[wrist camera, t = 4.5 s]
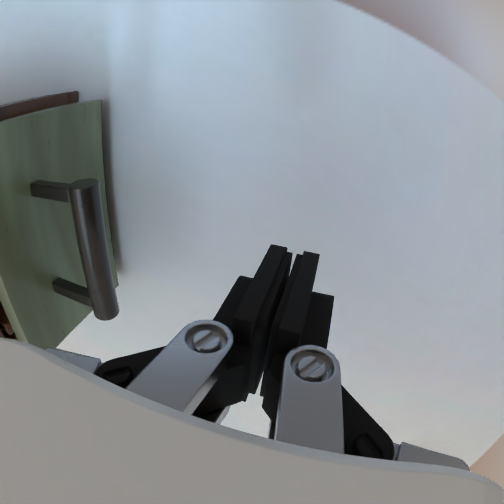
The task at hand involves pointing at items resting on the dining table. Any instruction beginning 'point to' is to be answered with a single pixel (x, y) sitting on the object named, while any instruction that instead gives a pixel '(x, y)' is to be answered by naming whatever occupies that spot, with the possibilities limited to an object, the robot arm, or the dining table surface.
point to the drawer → (54, 224)
